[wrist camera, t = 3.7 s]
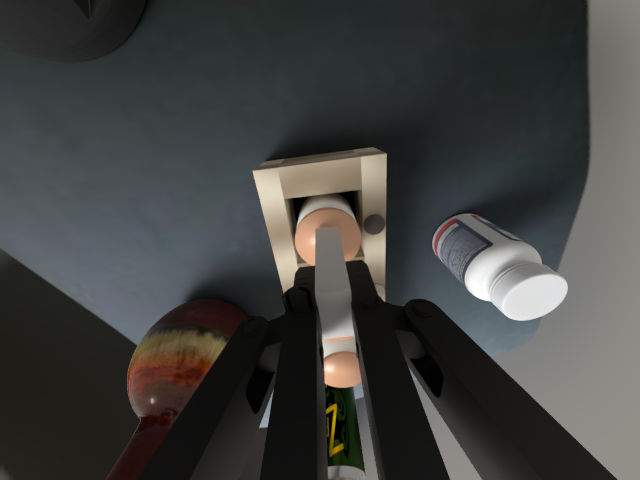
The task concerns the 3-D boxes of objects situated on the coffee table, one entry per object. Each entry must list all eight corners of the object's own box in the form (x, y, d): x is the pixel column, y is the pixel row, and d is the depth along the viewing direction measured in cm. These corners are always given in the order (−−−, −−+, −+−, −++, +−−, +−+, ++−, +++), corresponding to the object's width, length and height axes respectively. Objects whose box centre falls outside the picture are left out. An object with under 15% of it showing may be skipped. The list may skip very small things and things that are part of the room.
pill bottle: (431, 264, 24) (487, 334, 16) (430, 219, 22) (495, 275, 14) (483, 253, 24) (568, 320, 16) (488, 206, 21) (590, 257, 13)
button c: (315, 319, 24) (315, 359, 20) (359, 314, 24) (368, 354, 20) (320, 348, 26) (321, 389, 22) (361, 344, 26) (369, 385, 22)
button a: (294, 194, 19) (289, 214, 15) (350, 187, 19) (359, 205, 15) (303, 243, 21) (300, 271, 17) (353, 237, 21) (362, 265, 17)
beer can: (358, 368, 32) (379, 492, 21) (329, 384, 34) (335, 506, 23) (332, 350, 30) (342, 475, 19) (303, 367, 32) (297, 492, 21)
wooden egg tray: (264, 161, 19) (251, 171, 15) (373, 147, 19) (387, 153, 15) (306, 345, 30) (304, 378, 26) (375, 339, 29) (384, 371, 26)
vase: (281, 319, 27) (248, 517, 14) (231, 364, 31) (166, 555, 17) (197, 269, 24) (38, 467, 10) (152, 326, 28) (-9, 528, 14)
